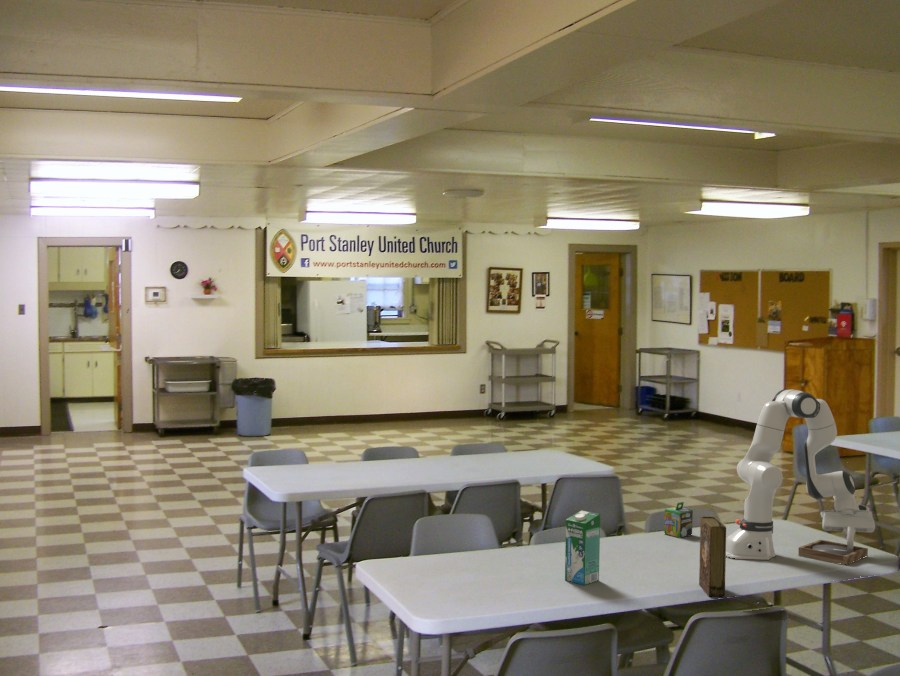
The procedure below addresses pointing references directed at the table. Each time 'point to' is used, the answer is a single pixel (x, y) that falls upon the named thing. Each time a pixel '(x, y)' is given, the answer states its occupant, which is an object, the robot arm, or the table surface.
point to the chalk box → (678, 521)
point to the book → (712, 556)
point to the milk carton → (582, 547)
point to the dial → (839, 549)
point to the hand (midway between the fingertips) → (850, 539)
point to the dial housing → (832, 557)
